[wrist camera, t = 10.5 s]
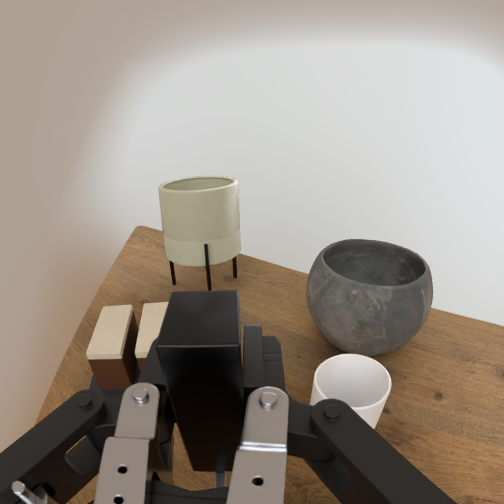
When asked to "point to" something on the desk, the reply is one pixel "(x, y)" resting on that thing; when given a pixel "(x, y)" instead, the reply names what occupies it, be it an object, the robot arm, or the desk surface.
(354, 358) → the cup
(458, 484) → the desk surface
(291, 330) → the desk surface
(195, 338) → the knife
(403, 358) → the desk surface
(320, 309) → the bowl
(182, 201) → the planter
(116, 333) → the cake
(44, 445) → the robot arm
